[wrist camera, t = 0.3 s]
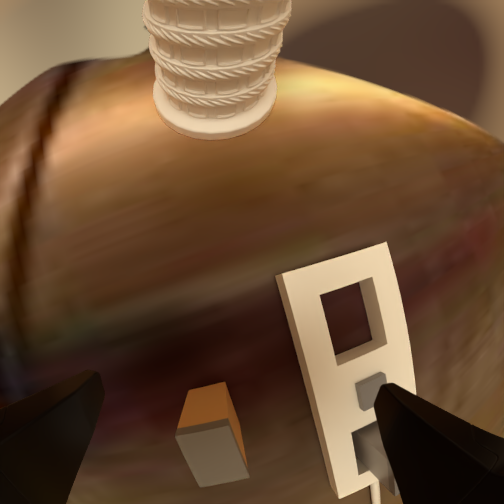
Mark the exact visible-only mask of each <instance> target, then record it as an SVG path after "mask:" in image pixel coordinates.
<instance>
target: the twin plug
mask: <svg viewBox="0 0 504 504" xmlns="http://www.w3.org/2000/svg"><path fill="white" fill-rule="evenodd" d="M351 435H352V440H353V446H354V451H355V456H356V457H357V458H358V459H359V460H360V461H361V462H362V463H363V464H364V465H365V466H366V467H367V468H368V469H369V470H370V471H371V473H372V474H373V475H374V476H375V477H376V478H377V479H378V480H379V481H380V482H381V483H382V484H383V485H384V486H385V487H386V488H387V489H388V490H389V491H390V492H391V493H392V494H393V495H394V496H396V495H398V494H400V492H399V489H398V486H397V483H396V481H395V478H394V475H393V472H392V469H391V466H390V463H389V461H388V458H387V455H386V452H385V450H384V447H383V443H382V440H381V436H380V431H379V427H378V423H377V420H376V421H374V422H372V423H370V424H368V425H366V426H364V427H362V428H360V429H358V430H355V431H353V432H351Z"/></svg>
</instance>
